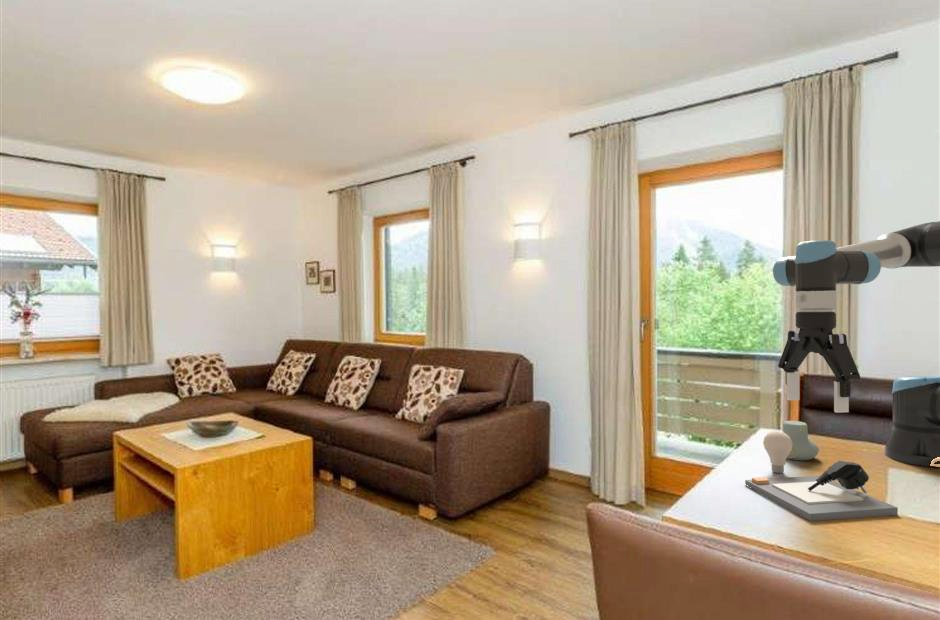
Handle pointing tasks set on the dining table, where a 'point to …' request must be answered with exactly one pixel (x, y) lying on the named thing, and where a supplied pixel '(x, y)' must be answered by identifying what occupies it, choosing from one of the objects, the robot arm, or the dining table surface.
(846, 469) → the power plug
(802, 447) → the air freshener
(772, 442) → the light bulb
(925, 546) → the dining table surface
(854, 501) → the socket board
